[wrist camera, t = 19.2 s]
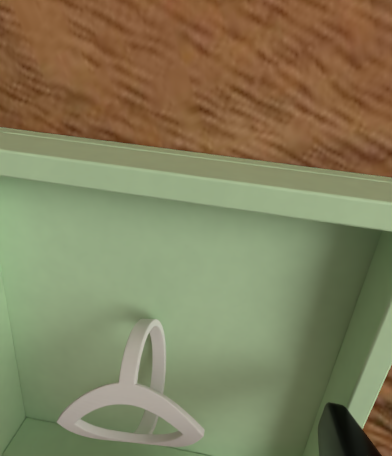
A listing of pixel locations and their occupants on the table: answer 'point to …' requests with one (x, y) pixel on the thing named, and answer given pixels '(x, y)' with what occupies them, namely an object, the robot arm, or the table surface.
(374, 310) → the sage tray
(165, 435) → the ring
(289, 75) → the table surface
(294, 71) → the table surface
